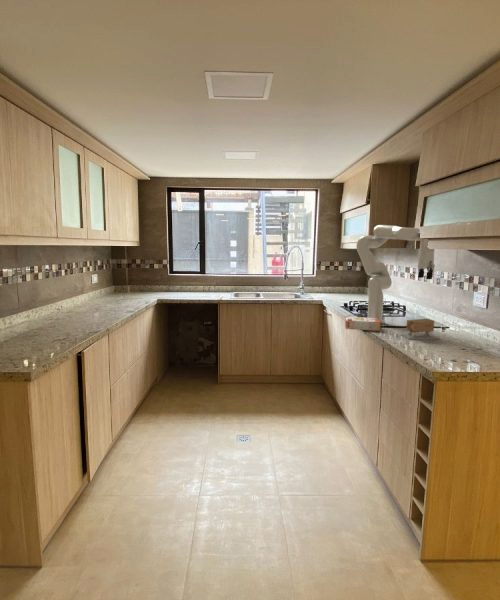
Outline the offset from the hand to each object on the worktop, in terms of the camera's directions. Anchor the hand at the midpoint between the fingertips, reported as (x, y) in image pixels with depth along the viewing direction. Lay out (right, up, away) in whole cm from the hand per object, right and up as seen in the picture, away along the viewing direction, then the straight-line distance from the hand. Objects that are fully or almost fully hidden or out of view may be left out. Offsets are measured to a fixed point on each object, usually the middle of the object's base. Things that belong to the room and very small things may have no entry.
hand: (424, 278), depth 223 cm
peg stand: (-7, -35, -9) cm, 36 cm away
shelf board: (-7, -31, -10) cm, 33 cm away
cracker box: (-23, -28, +11) cm, 38 cm away
